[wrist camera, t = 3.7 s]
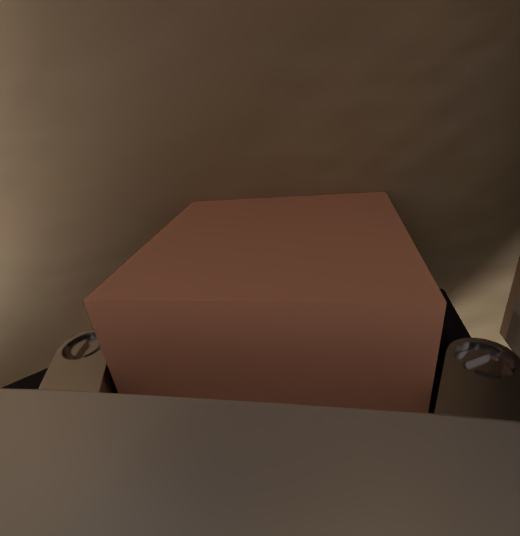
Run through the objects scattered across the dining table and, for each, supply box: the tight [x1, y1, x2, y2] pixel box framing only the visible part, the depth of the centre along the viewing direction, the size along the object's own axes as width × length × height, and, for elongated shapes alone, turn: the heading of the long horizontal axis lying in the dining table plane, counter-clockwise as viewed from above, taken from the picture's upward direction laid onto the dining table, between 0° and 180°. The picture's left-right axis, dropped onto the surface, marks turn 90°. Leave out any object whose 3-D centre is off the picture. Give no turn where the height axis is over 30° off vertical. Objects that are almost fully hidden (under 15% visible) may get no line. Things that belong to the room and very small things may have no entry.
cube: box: [82, 192, 447, 413], centre depth 10 cm, size 6×6×6 cm
